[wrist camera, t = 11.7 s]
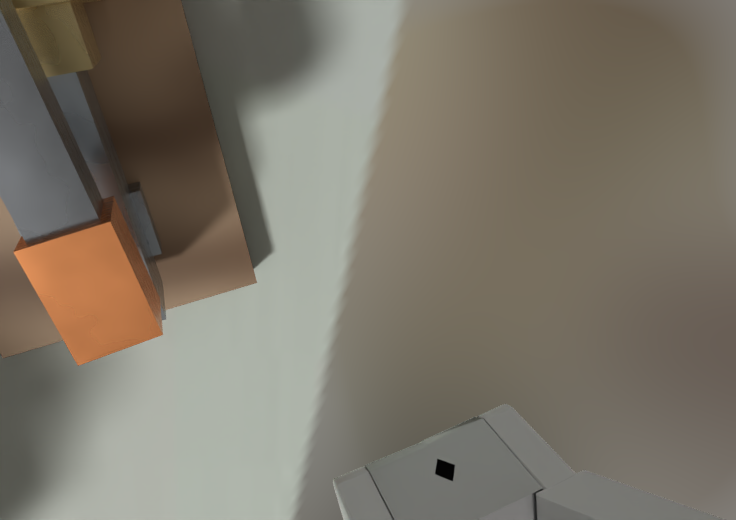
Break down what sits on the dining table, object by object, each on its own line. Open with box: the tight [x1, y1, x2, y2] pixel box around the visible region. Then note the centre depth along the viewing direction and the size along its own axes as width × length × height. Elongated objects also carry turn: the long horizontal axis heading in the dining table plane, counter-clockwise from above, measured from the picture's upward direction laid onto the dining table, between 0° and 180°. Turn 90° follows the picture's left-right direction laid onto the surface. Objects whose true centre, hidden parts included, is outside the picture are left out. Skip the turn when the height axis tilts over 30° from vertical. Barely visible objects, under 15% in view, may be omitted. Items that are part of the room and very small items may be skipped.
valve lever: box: [0, 0, 163, 366], centre depth 16 cm, size 14×3×3 cm, turn 12°
